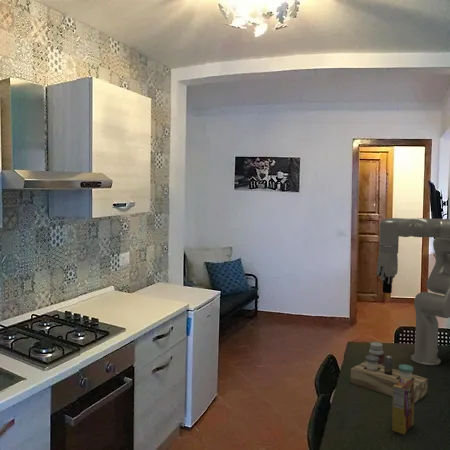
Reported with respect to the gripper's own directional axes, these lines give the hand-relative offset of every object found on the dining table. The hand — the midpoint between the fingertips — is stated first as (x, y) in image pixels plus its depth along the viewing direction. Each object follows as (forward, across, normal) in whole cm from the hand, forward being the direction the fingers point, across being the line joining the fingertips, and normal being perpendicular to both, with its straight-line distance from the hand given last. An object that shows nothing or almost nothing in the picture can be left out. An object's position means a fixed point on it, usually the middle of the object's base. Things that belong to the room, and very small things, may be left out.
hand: (387, 292), depth 202 cm
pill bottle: (+35, -2, -5) cm, 36 cm away
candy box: (+35, +39, +26) cm, 59 cm away
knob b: (+32, +13, +15) cm, 38 cm away
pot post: (+29, +13, +8) cm, 33 cm away
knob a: (+32, +13, +1) cm, 35 cm away
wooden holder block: (+35, +13, +8) cm, 38 cm away
